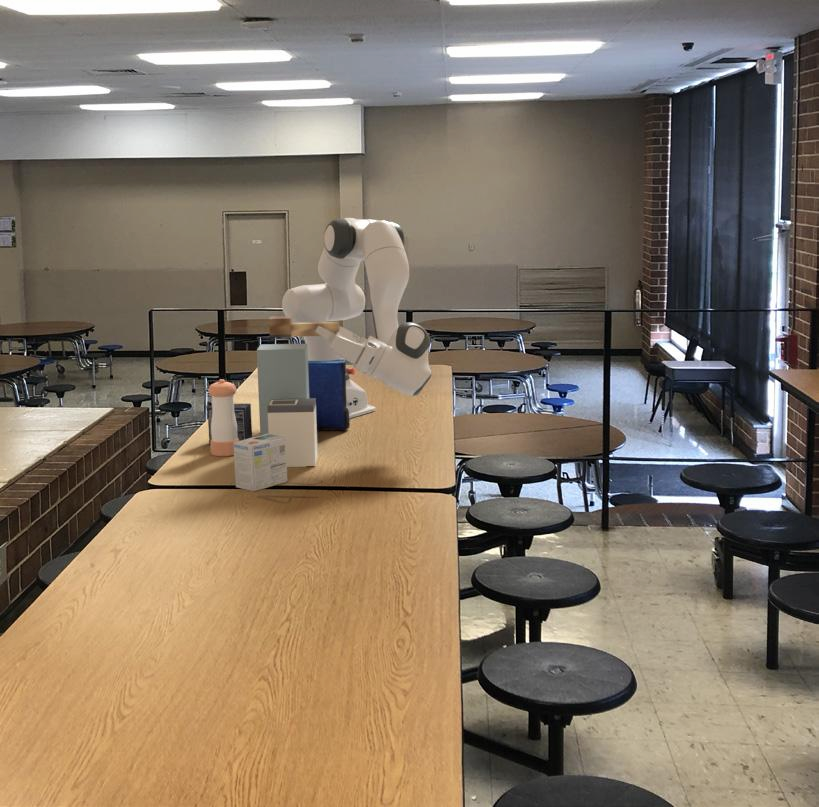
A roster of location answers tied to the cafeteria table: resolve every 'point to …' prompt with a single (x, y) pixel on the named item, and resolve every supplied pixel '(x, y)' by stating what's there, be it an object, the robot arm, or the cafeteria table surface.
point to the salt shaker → (223, 418)
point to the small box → (241, 418)
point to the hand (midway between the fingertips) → (317, 327)
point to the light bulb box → (260, 462)
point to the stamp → (297, 327)
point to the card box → (295, 429)
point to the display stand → (281, 375)
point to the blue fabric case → (329, 393)
